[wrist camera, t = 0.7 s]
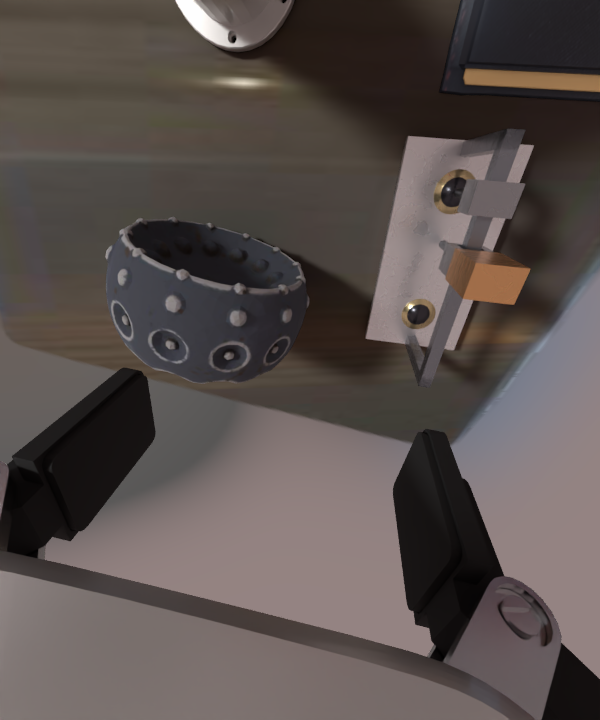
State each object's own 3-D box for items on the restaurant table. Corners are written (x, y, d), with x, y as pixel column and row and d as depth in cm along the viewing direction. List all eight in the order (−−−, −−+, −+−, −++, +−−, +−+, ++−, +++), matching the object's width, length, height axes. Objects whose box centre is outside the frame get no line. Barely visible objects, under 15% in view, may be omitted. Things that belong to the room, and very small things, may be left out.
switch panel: (406, 137, 32) (432, 119, 21) (526, 146, 31) (616, 132, 20) (365, 334, 44) (369, 384, 34) (450, 345, 43) (483, 400, 33)
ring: (175, 204, 39) (37, 227, 22) (324, 258, 39) (304, 321, 22) (169, 283, 44) (57, 350, 27) (299, 328, 45) (269, 421, 28)
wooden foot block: (429, 229, 34) (476, 263, 21) (462, 232, 33) (531, 268, 21) (422, 253, 35) (462, 298, 22) (454, 257, 35) (513, 304, 22)
